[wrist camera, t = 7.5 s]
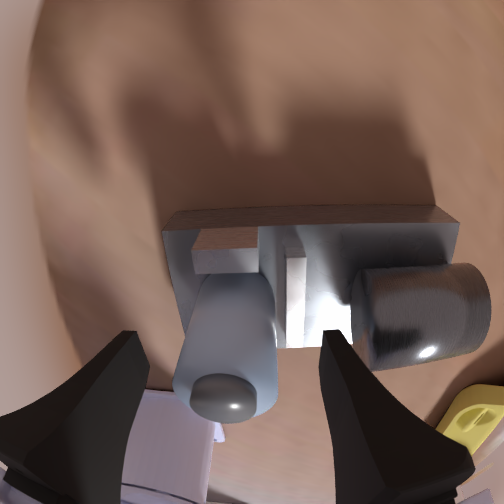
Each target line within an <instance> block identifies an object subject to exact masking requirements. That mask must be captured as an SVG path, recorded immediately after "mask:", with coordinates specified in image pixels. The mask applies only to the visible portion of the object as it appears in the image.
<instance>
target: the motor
mask: <svg viewBox="0 0 504 504" xmlns="http://www.w3.org/2000/svg"><path fill="white" fill-rule="evenodd" d="M459 225H460V223H459V222H458V221H457V220H455V219H454V218H453V217H451V216H450V215H449V214H447V213H446V212H445V211H443V210H442V209H441V208H439V207H438V206H430V205H312V206H278V207H253V208H232V209H214V210H197V211H182V212H176V213H175V214H174V216H173V217H172V218H171V220H170V221H169V222H168V223H167V225H166V226H165V227H164V229H163V230H162V236H163V241H164V246H165V251H166V256H167V261H168V266H169V271H170V275H171V280H172V284H173V289H174V293H175V297H176V301H177V306H178V310H179V314H180V318H181V322H182V326H183V330H184V333H185V336H186V333H187V330H188V326H189V323H190V320H191V317H192V314H193V310H194V307H195V304H196V301H197V298H198V295H199V291H200V288H201V286H202V284H203V282H204V281H205V279H206V278H207V277H208V276H209V275H211V274H217V273H251V272H257V273H259V274H260V275H262V276H263V277H264V278H265V279H266V280H267V281H268V282H269V283H270V285H271V287H272V289H273V291H274V295H275V313H276V340H277V348H298V347H313V346H321V344H322V335H323V330H332V329H340V330H341V331H342V333H343V334H344V336H345V337H346V339H347V340H348V342H349V343H350V344H353V349H354V350H355V352H356V353H357V354H358V356H359V357H360V358H361V360H362V361H363V362H364V363H365V365H366V366H367V367H368V369H369V370H370V371H371V372H374V371H381V370H388V369H394V368H401V367H406V366H412V365H418V364H423V363H428V362H433V361H438V360H443V359H447V358H452V357H456V356H460V355H464V354H468V353H471V352H474V351H475V350H477V349H478V348H479V347H480V346H481V344H482V343H483V341H484V340H485V338H486V335H487V333H488V330H489V326H490V321H491V299H490V293H489V289H488V286H487V283H486V281H485V279H484V277H483V275H482V274H481V272H480V271H479V270H478V269H477V268H476V267H475V266H473V265H471V264H469V263H455V264H451V261H452V257H453V253H454V249H455V244H456V240H457V235H458V230H459Z"/></svg>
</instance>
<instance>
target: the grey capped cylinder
mask: <svg viewBox="0 0 504 504" xmlns="http://www.w3.org/2000/svg"><path fill="white" fill-rule="evenodd" d="M172 385H173V390H174V392H175V394H176V396H177V397H178V398H179V399H180V400H181V401H182V402H183V403H184V404H185V405H186V406H188V407H189V408H191V409H192V410H193V411H194V412H195V413H196V414H198V415H199V416H201V417H203V418H205V419H207V420H210V421H213V422H218V423H227V424H229V423H239V422H243V421H246V420H248V419H250V418H252V417H255V416H258V415H260V414H262V413H264V412H266V411H267V410H269V409H270V408H271V407H272V406H273V405H274V404H275V402H276V400H277V397H278V371H277V340H276V313H275V295H274V291H273V289H272V287H271V285H270V283H269V282H268V281H267V280H266V279H265V278H264V277H263V276H262V275H260V274H259V273H257V272H251V273H217V274H211V275H209V276H208V277H207V278H206V279H205V281H204V282H203V284H202V286H201V288H200V291H199V295H198V298H197V301H196V304H195V307H194V310H193V314H192V317H191V320H190V323H189V326H188V330H187V333H186V336H185V339H184V343H183V346H182V349H181V353H180V356H179V359H178V363H177V366H176V370H175V373H174V377H173V381H172Z"/></svg>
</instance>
